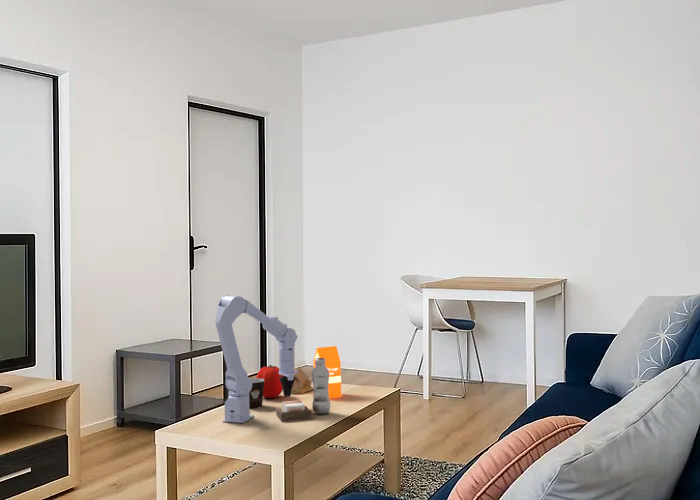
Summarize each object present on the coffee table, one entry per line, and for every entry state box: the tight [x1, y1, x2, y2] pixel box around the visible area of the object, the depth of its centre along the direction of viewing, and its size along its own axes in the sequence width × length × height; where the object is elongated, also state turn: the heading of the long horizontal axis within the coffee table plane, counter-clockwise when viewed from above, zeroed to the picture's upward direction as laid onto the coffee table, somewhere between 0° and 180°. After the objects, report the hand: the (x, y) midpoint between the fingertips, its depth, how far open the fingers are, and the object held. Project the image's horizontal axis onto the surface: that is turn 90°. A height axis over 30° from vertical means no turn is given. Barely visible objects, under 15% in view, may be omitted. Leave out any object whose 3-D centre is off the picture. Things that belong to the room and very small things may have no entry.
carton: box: [281, 400, 306, 412], centre depth 258 cm, size 8×6×5 cm
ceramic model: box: [291, 366, 314, 395], centre depth 302 cm, size 14×11×10 cm
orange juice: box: [312, 345, 342, 399], centre depth 290 cm, size 8×9×20 cm
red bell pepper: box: [256, 364, 283, 399], centre depth 290 cm, size 12×12×13 cm
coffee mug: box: [249, 377, 264, 410], centre depth 275 cm, size 12×9×10 cm
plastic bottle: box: [310, 358, 331, 415], centre depth 262 cm, size 6×7×20 cm
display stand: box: [275, 405, 313, 422], centre depth 258 cm, size 10×11×3 cm
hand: (287, 396), depth 268 cm, fingers closed
